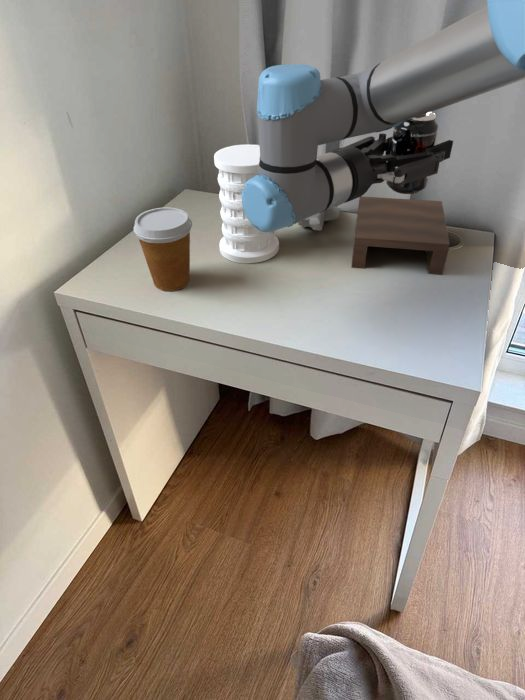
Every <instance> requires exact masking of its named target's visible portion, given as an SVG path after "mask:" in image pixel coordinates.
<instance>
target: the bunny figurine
mask: <svg viewBox="0 0 525 700" xmlns="http://www.w3.org/2000/svg"><path fill="white" fill-rule="evenodd" d="M340 214H341V207H340V206H335V207H333V208H330V209H328V210H325V211H324V212H322V213H318V214H315V215H313V216H311V217H308V218H306V219H304V220H302V221H300V222H298V223H297V225H298V226H301V228H303V229H306V228H311V229H312V230H314V231H322V230H323V226H324V223H325V222H327V221H332V220H338V219H339V218H340Z"/></svg>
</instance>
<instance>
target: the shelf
mask: <svg viewBox="0 0 525 700" xmlns="http://www.w3.org/2000/svg"><path fill="white" fill-rule="evenodd" d="M358 198H359V199H358V207H357V215H356V223H355V229H354V230H355V231H354V239H353V240H354V241H353V250H352V256H351V257H352V259H351V268H353V269H354V268H356V269H365V268H366V262H367V255H368V254H367V253H368V247H373V248H385V249H386V248H387V249H388V248H389V249H399V250H400V249H401V250H412V251H413V250H415V251H425V254H426V263H427V271H428V272H427V273H428V274H429V275H440V276H442V275H443V274H444V269H445V265H446V261H447V258H448V254H449V249H450V244H451V243H450V238H449V234H448V228H447V222H446V217H445V211H444V206H443V201H442V200H427V199H413V198H412V199H409V198H395V197H393V198H392V197H379V196H378V197H377V196H376V197H375V196H361V197H358Z"/></svg>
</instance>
